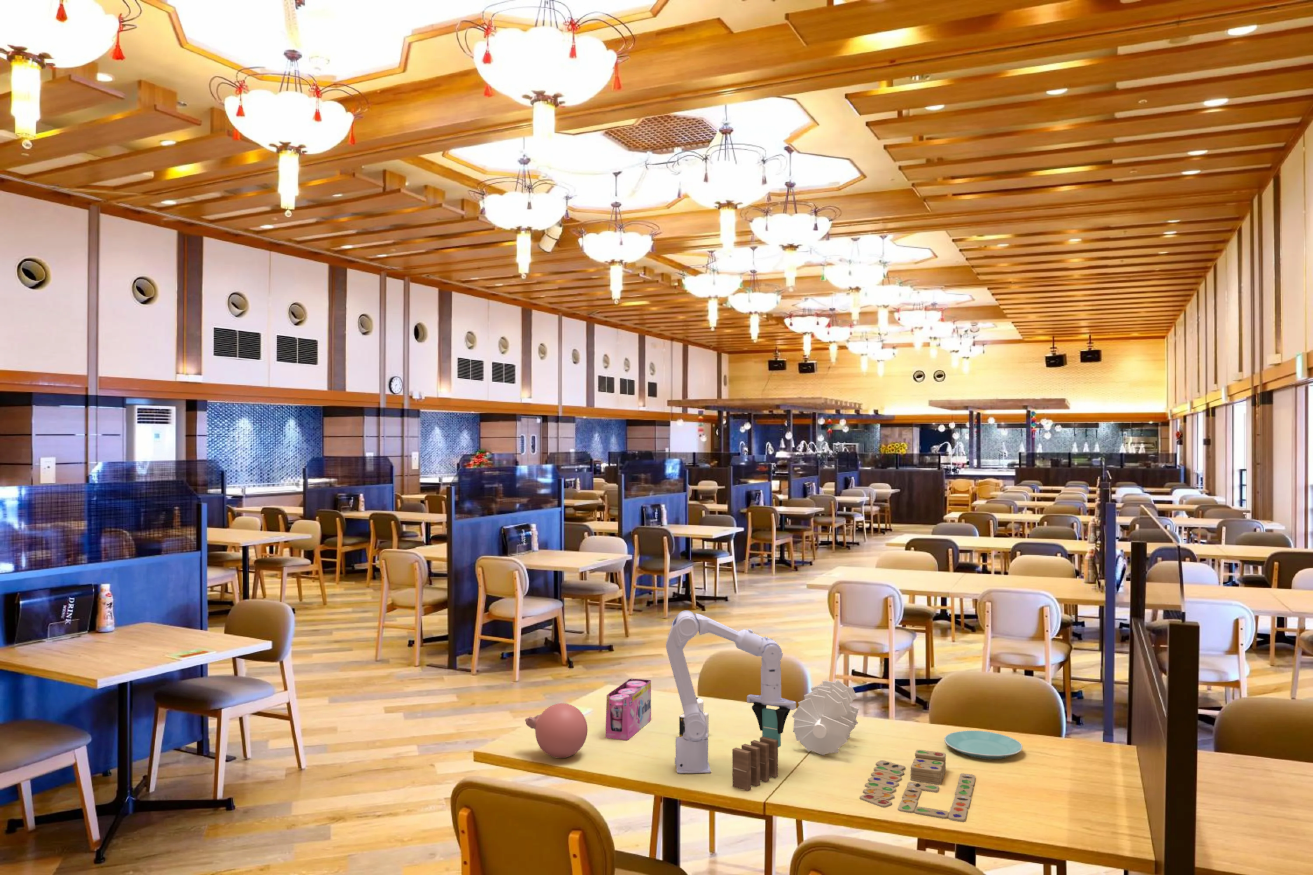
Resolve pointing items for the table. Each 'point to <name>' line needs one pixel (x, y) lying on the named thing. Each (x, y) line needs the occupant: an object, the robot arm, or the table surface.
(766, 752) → the walnut domino
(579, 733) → the pink water balloon
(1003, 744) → the plate
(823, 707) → the spiral staircase
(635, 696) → the gum box
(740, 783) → the walnut domino
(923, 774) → the pile of dominoes
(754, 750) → the walnut domino
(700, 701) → the medicine bottle
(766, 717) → the teal domino
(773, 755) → the walnut domino
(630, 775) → the table surface
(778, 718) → the robot arm
